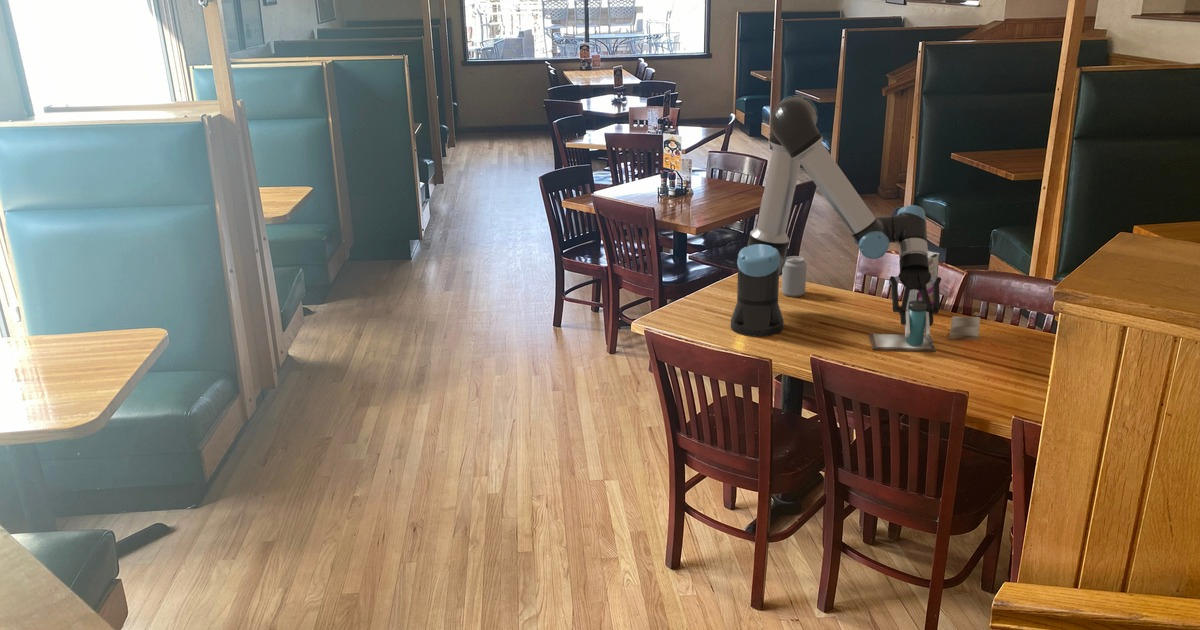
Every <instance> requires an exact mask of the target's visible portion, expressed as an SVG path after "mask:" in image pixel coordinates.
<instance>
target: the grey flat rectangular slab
mask: <svg viewBox="0 0 1200 630" xmlns="http://www.w3.org/2000/svg"><path fill="white" fill-rule="evenodd" d="M868 337H869V341H870V343H871V348H872V350H873V351H882V352H883V351H884V352H886V351H887V352H888V351H889V352H891V351H892V352H913V353H915V352H916V353H917V352H918V353H937V349H936V348H935V345H934V340H933V338H932V336H931V335H929V337H928V338H925V334H924V338H923V344H920V345H912V344H909V343H907V342H906V337H905V334H903V333H902V334H898V333H897V334H896V333H868Z"/></svg>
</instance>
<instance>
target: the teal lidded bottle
mask: <svg viewBox="0 0 1200 630" xmlns="http://www.w3.org/2000/svg"><path fill="white" fill-rule="evenodd" d="M908 309H909V323H910V335H909V337H908V338H907V337H906V342H907V343H909V344H912V345H920V344H923V338H924V335H925V317H926V310H927V303H926V302H924V301H917V300H915V301H910V302H909V306H908Z"/></svg>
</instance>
